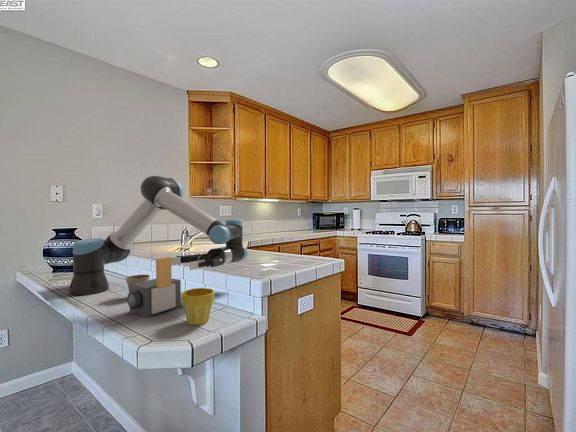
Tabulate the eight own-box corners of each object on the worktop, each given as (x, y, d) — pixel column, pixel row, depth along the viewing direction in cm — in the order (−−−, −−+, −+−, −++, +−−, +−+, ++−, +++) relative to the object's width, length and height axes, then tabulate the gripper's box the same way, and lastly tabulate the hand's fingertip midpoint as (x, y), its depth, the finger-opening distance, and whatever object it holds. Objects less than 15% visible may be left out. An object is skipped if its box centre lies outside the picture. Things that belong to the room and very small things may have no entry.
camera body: (164, 302, 120) (163, 274, 119) (181, 306, 114) (180, 277, 114) (123, 314, 106) (122, 282, 105) (140, 319, 100) (140, 286, 100)
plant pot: (221, 319, 100) (221, 289, 100) (197, 330, 91) (197, 297, 91) (199, 314, 105) (198, 286, 105) (174, 323, 97) (174, 293, 96)
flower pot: (122, 297, 127) (122, 276, 127) (146, 292, 133) (146, 273, 133) (128, 302, 120) (128, 280, 120) (153, 297, 126) (153, 276, 126)
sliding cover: (173, 306, 111) (173, 256, 111) (176, 306, 110) (175, 256, 110) (151, 313, 103) (150, 259, 103) (154, 314, 103) (153, 259, 102)
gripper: (241, 268, 123) (201, 278, 105) (198, 262, 136) (156, 271, 117) (241, 249, 123) (201, 256, 104) (198, 246, 135) (156, 252, 117)
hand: (177, 264), depth 111 cm, fingers open, 13 cm apart
